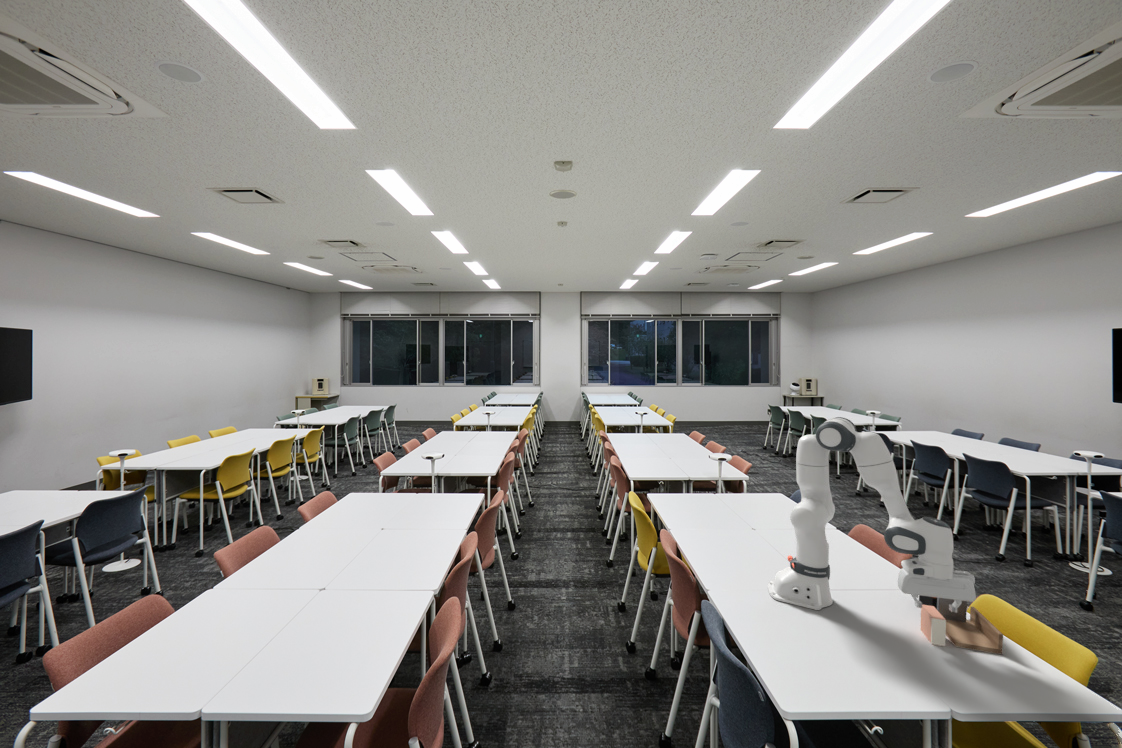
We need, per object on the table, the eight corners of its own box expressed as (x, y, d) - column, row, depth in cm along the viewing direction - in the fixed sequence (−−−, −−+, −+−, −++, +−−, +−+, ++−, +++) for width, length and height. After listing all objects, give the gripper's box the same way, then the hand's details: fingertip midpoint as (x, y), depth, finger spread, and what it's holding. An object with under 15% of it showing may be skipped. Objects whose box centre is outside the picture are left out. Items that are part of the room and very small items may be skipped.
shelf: (955, 646, 143) (956, 627, 142) (931, 618, 158) (932, 600, 157) (1002, 654, 139) (1003, 634, 138) (973, 625, 154) (974, 606, 154)
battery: (929, 602, 168) (930, 577, 167) (944, 613, 161) (945, 586, 160) (918, 602, 168) (918, 577, 167) (932, 613, 161) (933, 586, 161)
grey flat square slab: (938, 618, 155) (938, 596, 155) (936, 616, 156) (937, 594, 156) (966, 622, 153) (966, 600, 153) (964, 620, 154) (965, 598, 153)
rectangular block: (931, 644, 144) (932, 617, 143) (920, 629, 151) (921, 604, 151) (945, 646, 143) (946, 619, 142) (933, 631, 150) (933, 606, 150)
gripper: (969, 567, 145) (969, 609, 146) (895, 560, 152) (895, 599, 152) (980, 576, 140) (980, 619, 140) (903, 568, 146) (903, 609, 146)
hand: (935, 609), depth 146 cm, fingers open, 8 cm apart
